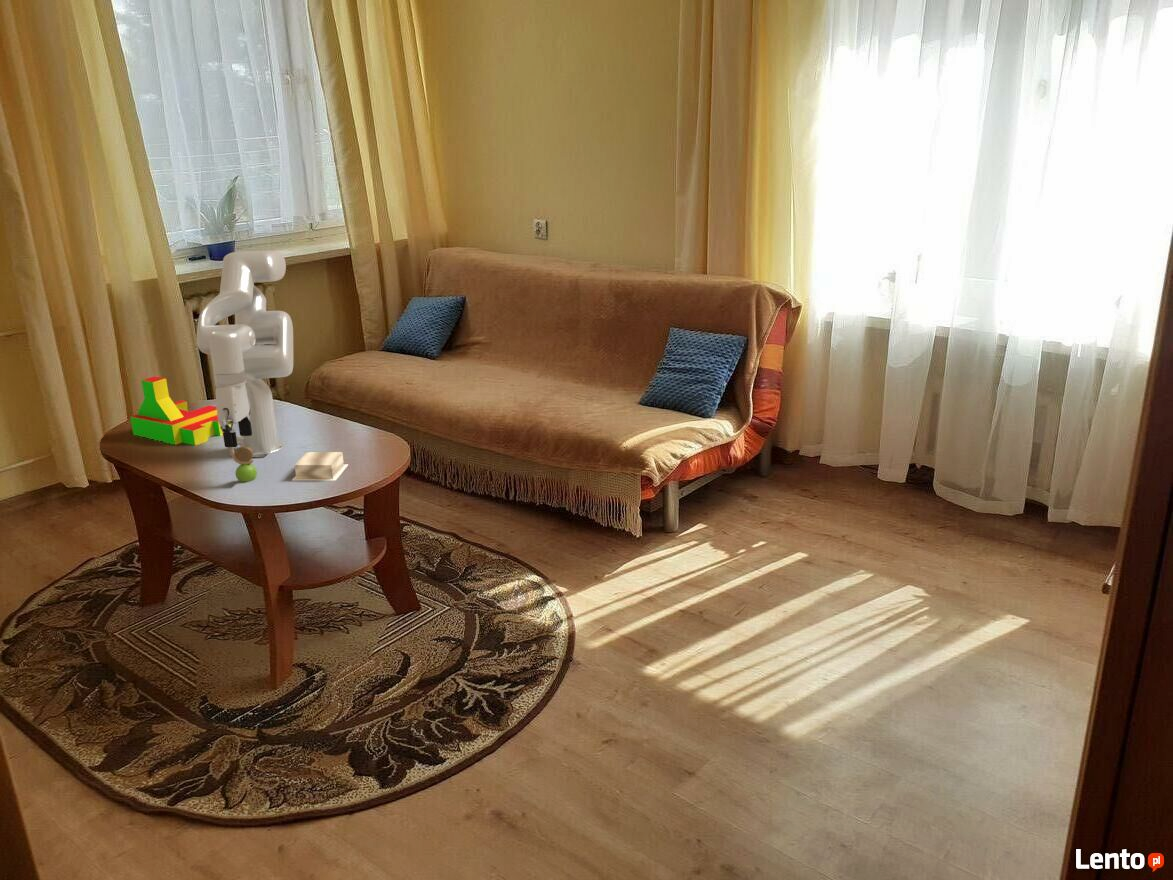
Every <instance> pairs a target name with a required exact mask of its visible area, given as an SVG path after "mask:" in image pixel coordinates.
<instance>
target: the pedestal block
mask: <svg viewBox="0 0 1173 880" xmlns="http://www.w3.org/2000/svg"><path fill="white" fill-rule="evenodd" d="M344 463H345V462H344V455H343V452H342V451H307V452H305V454H303V455H302V457H301V458H300V459H299V460H298V461H297V462H296V463H295V464H294V471H295V476H296V479H333V478H334V477H335V476H336V475H337V474H338V472H339V471H340V470H341V469H342V467H343V466H344Z"/></svg>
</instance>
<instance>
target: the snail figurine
mask: <svg viewBox="0 0 1173 880" xmlns="http://www.w3.org/2000/svg"><path fill="white" fill-rule="evenodd" d="M227 448H228V450H229V453H230V456H231V457H232V459H233V461H234V462H235V463H237V464H239V465H238V466H237V467H236V470H235V478H236V479H237V481H239V482H241V483H249V482H251V481H254V480H255V479H256V478H257V476H258V471H257V468H256V467H255V465H253V464H252V463H254V461H255V459H253V458H254V457H253V452H252V450H251V449H250V448H249V447H246V446H242V447H241V446H239V447H238V448H237V449H236V451H235V449H234V448H235V447H227Z"/></svg>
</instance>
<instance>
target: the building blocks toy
mask: <svg viewBox="0 0 1173 880" xmlns="http://www.w3.org/2000/svg"><path fill="white" fill-rule="evenodd" d="M141 385H142V390H143V397H144V399H143V400H142V403H141V405H140V408H139V409H138V411H137V413H136V414H135V415H130V423H131V429H132V434H133V436H134V435H139V436H143V437H147V438H150V439H149V440H151V439H154V440H153V441H156V440H159V441H158V442H160V441H163V442H162V443H165V442H166V443H165V444H169V443H170V445H174V444H175V446H176V445H179V444H186V445H187V444H188V445H192V446H198V445H200V444H203V443H205V442H208V441H209V438H210V437H212V436H218V437H223V433H222V430H221V428H220V427H221V426H220V424H219V422H218V416H217V406H216V405H214V406H213V405H206V406H203V407H200V408H197V409H195V410H194V409H193V410H192V411H189V408H188V401H186V400H182V399H180V400H177V401H175V402H174V401H173V400H172V398H171V397H170V394H169V389H168V387H169V386H168V382H167V378H165V377H160V376H152V377H148V378H144V379H141ZM227 421H232V420H227ZM227 425H229V426H230V428H231V424H227Z"/></svg>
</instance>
